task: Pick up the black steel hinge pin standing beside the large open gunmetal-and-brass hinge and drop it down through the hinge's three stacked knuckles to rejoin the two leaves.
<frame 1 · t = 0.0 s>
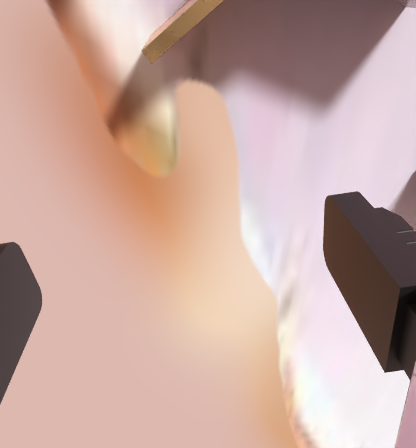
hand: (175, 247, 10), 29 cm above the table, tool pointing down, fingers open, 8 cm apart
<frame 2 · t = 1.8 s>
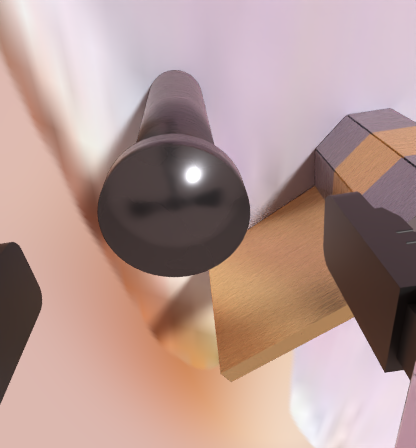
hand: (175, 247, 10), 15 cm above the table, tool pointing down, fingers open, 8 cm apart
hinge pin: (175, 98, 23), on the table
hinge: (364, 160, 26), on the table
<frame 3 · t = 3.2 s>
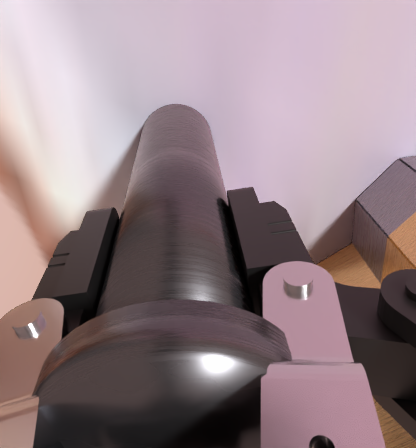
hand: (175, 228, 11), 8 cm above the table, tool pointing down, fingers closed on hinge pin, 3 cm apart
hinge pin: (176, 139, 17), on the table, touching gripper
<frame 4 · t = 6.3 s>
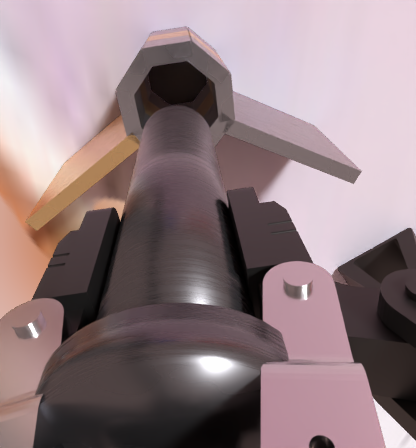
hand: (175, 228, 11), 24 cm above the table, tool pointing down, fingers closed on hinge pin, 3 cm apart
hinge pin: (177, 140, 17), point 17 cm above the table, touching gripper
hinge: (177, 74, 32), on the table
phone stand: (381, 263, 44), on the table
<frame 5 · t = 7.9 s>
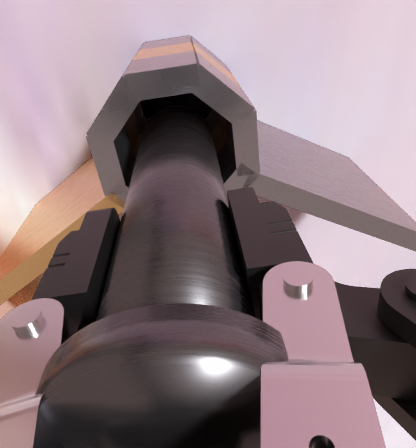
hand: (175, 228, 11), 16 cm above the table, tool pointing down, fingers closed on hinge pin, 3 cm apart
hinge pin: (177, 141, 17), point 9 cm above the table, touching gripper
hinge: (176, 96, 25), on the table
when the fingers open (13 cm above the table, at t = 9.2 s): hinge pin drops 5 cm, resting in hinge.
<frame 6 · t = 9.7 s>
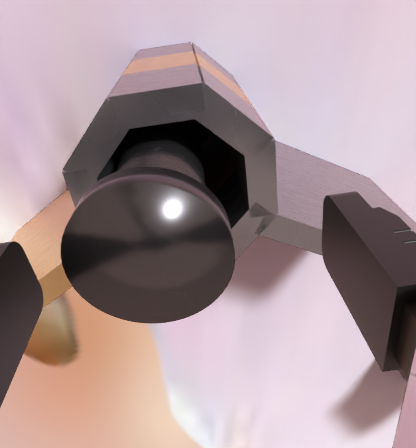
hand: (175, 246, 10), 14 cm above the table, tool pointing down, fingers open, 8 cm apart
hinge pin: (170, 111, 22), resting in hinge
hinge: (176, 110, 22), on the table
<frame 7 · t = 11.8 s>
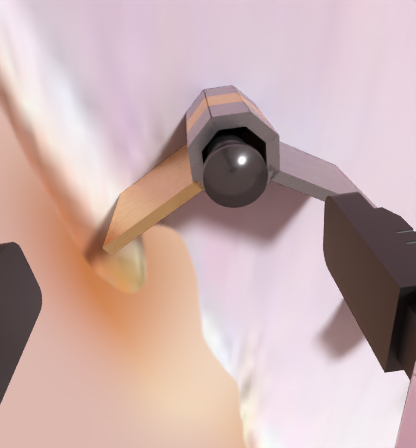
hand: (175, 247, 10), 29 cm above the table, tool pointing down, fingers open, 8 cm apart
hinge pin: (218, 123, 38), resting in hinge
hinge: (221, 122, 38), on the table
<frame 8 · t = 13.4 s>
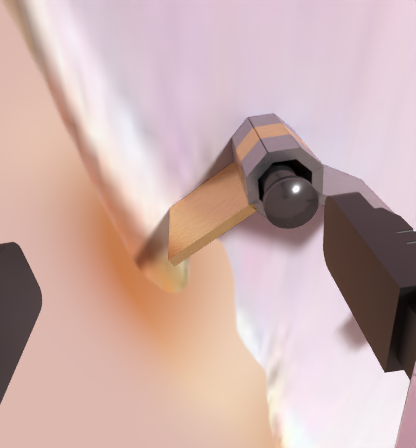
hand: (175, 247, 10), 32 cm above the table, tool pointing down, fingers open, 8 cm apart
hinge pin: (259, 145, 43), resting in hinge
hinge: (262, 145, 42), on the table
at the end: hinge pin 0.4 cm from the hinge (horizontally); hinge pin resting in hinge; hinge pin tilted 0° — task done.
